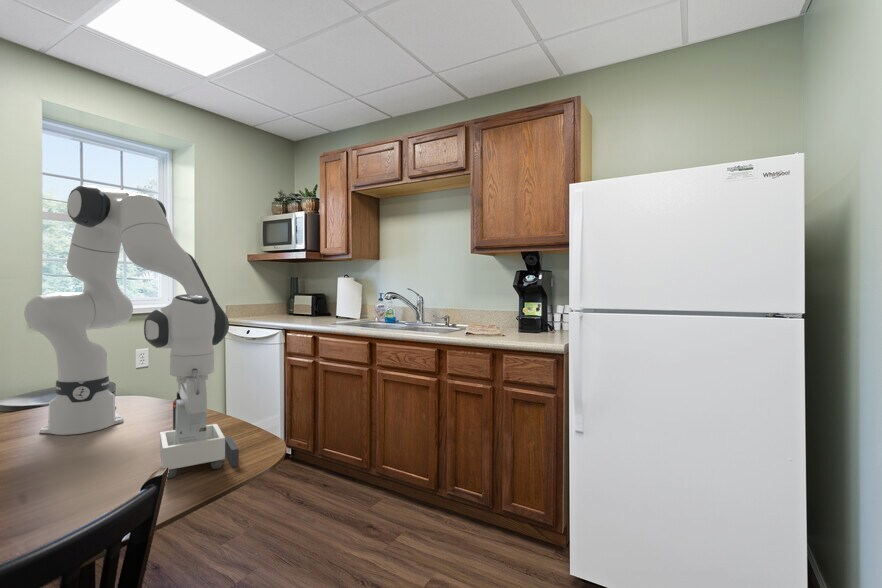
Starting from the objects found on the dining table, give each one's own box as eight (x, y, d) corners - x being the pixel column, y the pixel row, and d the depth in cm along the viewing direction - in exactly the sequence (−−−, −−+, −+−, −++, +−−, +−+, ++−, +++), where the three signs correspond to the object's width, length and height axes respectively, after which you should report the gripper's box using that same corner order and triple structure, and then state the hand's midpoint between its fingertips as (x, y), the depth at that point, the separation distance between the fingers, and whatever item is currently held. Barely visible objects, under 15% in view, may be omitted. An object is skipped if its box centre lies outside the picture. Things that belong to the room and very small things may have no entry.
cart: (159, 462, 105) (160, 432, 105) (216, 452, 112) (216, 423, 111) (162, 482, 95) (162, 448, 95) (224, 469, 102) (225, 438, 102)
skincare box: (176, 458, 100) (176, 404, 99) (174, 451, 103) (174, 399, 103) (207, 452, 103) (207, 400, 103) (204, 446, 107) (204, 396, 106)
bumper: (224, 453, 112) (224, 437, 112) (230, 452, 113) (230, 436, 112) (231, 467, 104) (231, 450, 103) (238, 465, 104) (238, 448, 104)
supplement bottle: (176, 427, 130) (176, 389, 130) (199, 426, 131) (199, 388, 131) (169, 434, 124) (169, 394, 124) (193, 433, 126) (193, 393, 125)
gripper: (214, 372, 96) (214, 436, 96) (202, 357, 113) (202, 412, 113) (180, 375, 92) (180, 441, 93) (173, 360, 109) (173, 416, 110)
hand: (192, 425), depth 103 cm, fingers open, 8 cm apart
